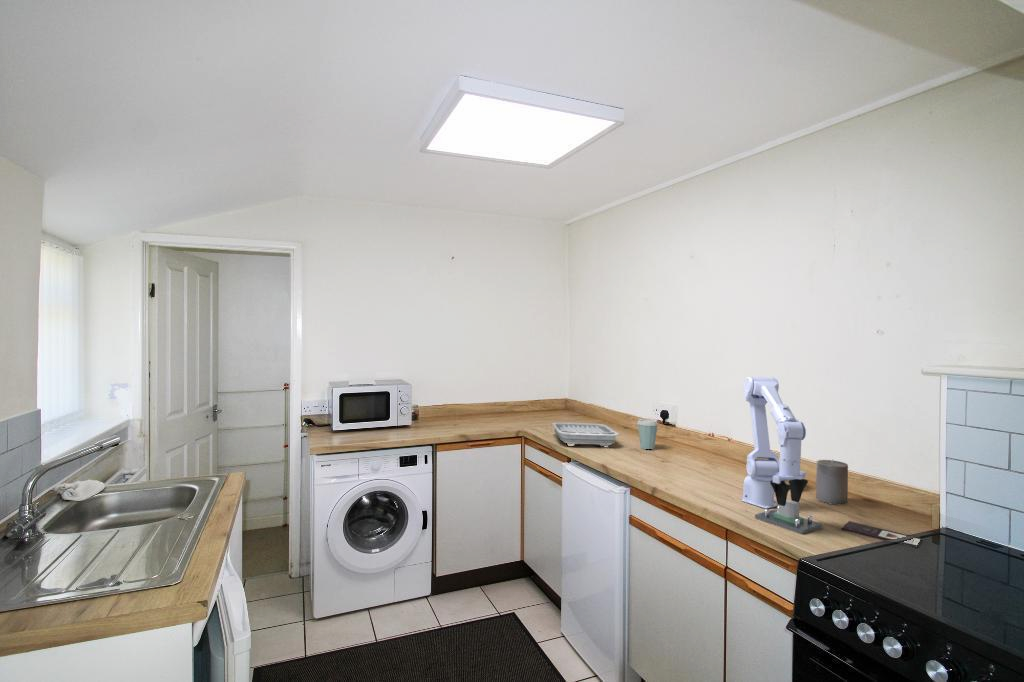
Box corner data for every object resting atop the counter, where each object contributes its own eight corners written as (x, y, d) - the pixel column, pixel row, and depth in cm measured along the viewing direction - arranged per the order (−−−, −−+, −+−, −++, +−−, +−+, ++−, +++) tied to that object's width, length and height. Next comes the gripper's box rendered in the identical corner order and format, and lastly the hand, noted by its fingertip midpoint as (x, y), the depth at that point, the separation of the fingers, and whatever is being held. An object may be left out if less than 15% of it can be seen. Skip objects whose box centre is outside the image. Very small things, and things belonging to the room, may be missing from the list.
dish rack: (604, 436, 299) (605, 422, 299) (621, 450, 262) (622, 434, 262) (550, 435, 297) (550, 421, 297) (559, 449, 261) (559, 433, 261)
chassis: (755, 518, 166) (755, 508, 166) (775, 512, 172) (775, 503, 172) (801, 534, 154) (802, 523, 154) (822, 527, 159) (822, 517, 159)
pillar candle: (842, 498, 191) (843, 457, 191) (851, 506, 181) (852, 463, 181) (812, 495, 193) (813, 455, 193) (819, 503, 184) (820, 461, 184)
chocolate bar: (849, 521, 165) (921, 538, 152) (849, 524, 165) (921, 541, 152) (841, 528, 158) (916, 546, 146) (841, 531, 158) (915, 549, 146)
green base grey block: (773, 516, 165) (774, 499, 165) (781, 514, 167) (781, 497, 167) (795, 524, 159) (796, 505, 158) (803, 521, 161) (804, 503, 161)
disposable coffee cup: (654, 452, 259) (655, 422, 258) (633, 449, 264) (634, 419, 264) (659, 448, 268) (660, 419, 268) (639, 445, 273) (640, 417, 273)
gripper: (789, 465, 155) (787, 510, 156) (815, 460, 163) (814, 503, 163) (767, 460, 161) (765, 503, 162) (793, 455, 169) (792, 497, 169)
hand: (788, 503), depth 163 cm, fingers open, 7 cm apart
